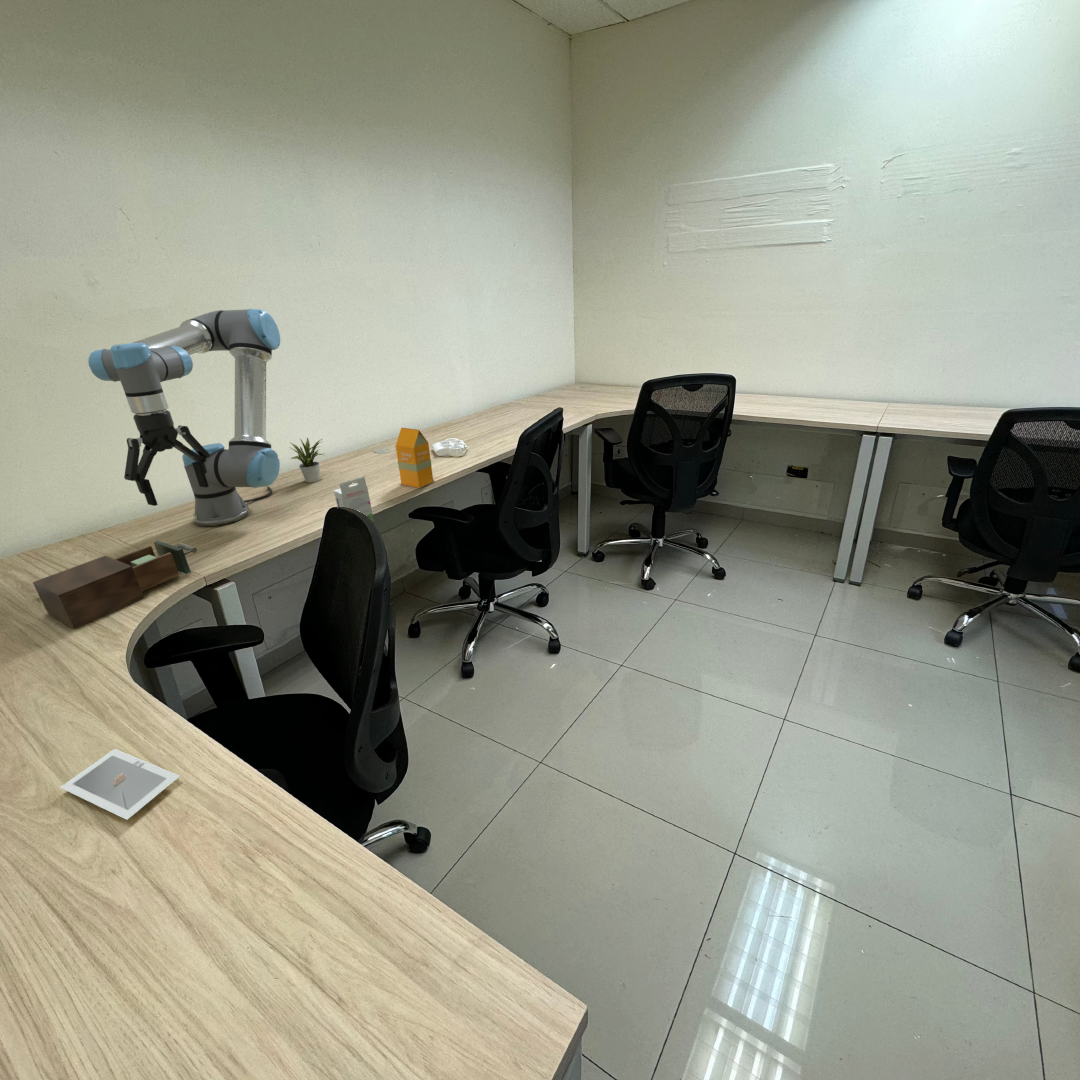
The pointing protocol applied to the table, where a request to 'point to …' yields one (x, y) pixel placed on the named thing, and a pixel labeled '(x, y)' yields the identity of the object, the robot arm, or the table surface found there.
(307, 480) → the house plant
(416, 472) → the orange juice
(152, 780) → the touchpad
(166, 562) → the drawer
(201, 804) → the table surface
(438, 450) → the white flat lumpy piece
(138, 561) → the block
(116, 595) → the cabinet
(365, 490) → the ink box
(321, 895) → the table surface
